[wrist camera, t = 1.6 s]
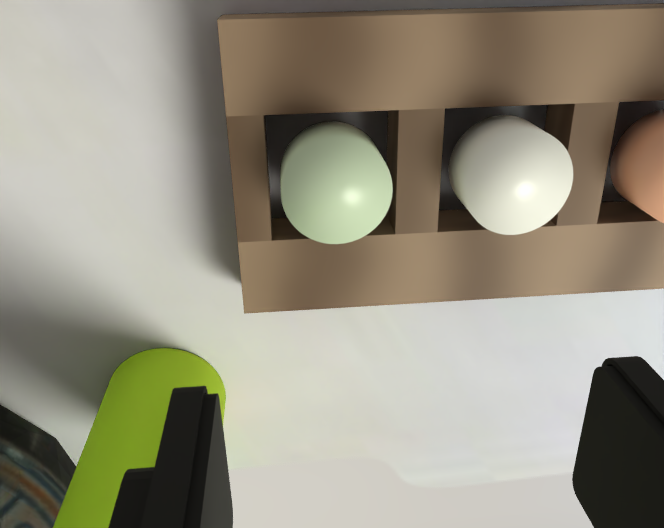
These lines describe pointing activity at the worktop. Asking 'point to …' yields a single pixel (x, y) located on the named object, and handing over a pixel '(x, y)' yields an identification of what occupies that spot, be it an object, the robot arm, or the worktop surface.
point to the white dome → (510, 174)
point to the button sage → (334, 183)
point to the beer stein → (30, 474)
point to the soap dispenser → (130, 429)
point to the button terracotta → (641, 164)
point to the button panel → (427, 142)
